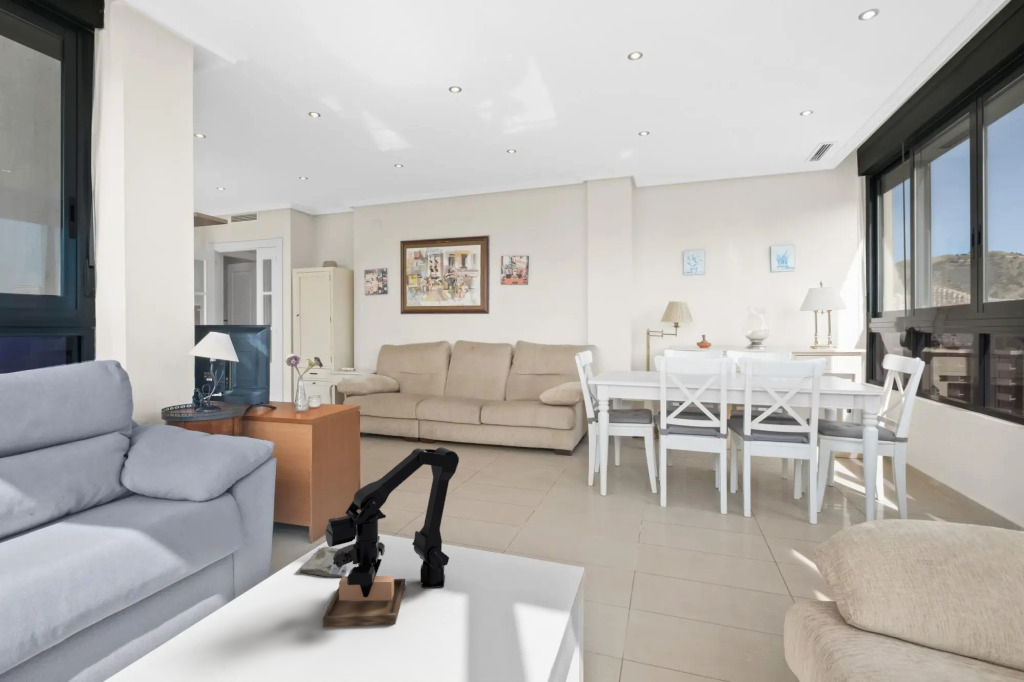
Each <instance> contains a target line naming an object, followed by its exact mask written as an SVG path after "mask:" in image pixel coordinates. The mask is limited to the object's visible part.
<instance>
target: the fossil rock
mask: <svg viewBox="0 0 1024 682" xmlns="http://www.w3.org/2000/svg"><path fill="white" fill-rule="evenodd" d="M339 549H340V548H339V547H329V546H323V547H321V548H318V549H317V551H316V552H315V553H314V554H313V555H312V556H311V557H310V558H309V559H308V560H307V561H305V562H304V563H303V564H302V565H301V566H300V568H299V573H300V572H301V573H300V574H306V573H308V574H307V575H315V576H316V575H317V576H321V577H328V578H330V577H331V578H341V577H343V576H347V573H348V569H347V564H345V565H342V567H339V568H338V567H337V566H336V565H334V564H333V562H334V559H333V558H334V557H333V556H334V555H335V553H336V551H337V550H339Z"/></svg>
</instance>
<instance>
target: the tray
mask: <svg viewBox="0 0 1024 682" xmlns="http://www.w3.org/2000/svg"><path fill="white" fill-rule="evenodd" d="M405 588H406V578H394V596H393V598H392V600H339V586H338V588H337V590H336V591H335V594H333V597H332V599H331V601H330V603H329V605H328V606H327V609H326V611H325V613H324V614H323V617H322V628H331V627H332V628H334V627H336V628H337V627H358V626H381V625H396V623H397V620H398V616H399V612H400V609H401V604H402V600H403V596H404V593H405V590H406V589H405Z"/></svg>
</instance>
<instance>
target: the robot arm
mask: <svg viewBox="0 0 1024 682" xmlns="http://www.w3.org/2000/svg"><path fill="white" fill-rule="evenodd" d="M459 462H460V458H459V455H458V454H457V453H456V452H455V451H453V450H451V449H448V448H446V447H443V446H442V447H438V448H436V449H431V448H423V449H422V448H414V449H412V451H411V453H410V454H409V455H408V456H405V458H404V459H402V460H401V461H400V462H398V464H396V465H395V466H394V467H393V468H392V469H390V471H388V472H387V473H386V474H384V475H383V476H382V477H381V478H379V479H378V480H376V481H372V482H370V483H367V484H366V485H365V486H362V487H360V489H358V490H357V491H356V492H355V493H354V495H353V500H352V502H351V503H350V505H349V506H348V508H347V510H346V511H345V513H344V514H345V515H344V516H341V517H333V518H332V517H331V518H329V519H328V524H327V525H326V529H324V530H325V531H324V532H325V540H326V543H327V547H330V548H334V547H336V546H339V545H340V546H341V545H343V544H348V543H351V542H353V541H354V540H355V542H354V543H352V544H348V545H345V546H343V547H341V548H338V549H339V550H337V551H336V553H335V555H334V556H333V557H334V558H333V559H334V562H333V564H334V565H336V566H337V567H338V568H339V567H342V565H345V564H346V565H347V564H350V563H352V565H357V566H354V567H352V569H350V571H349V573H348V574H347V575H346V576H347V584H348V585H360V587H361V590H362V593H363V596H364V597H368V595H369V593H370V590H371V587H372V584H373V582H374V579H375V576H377V574H378V572H379V569H380V566H381V563H382V558H379V557H380V556H381V557H384V554H385V551H386V549H385V544H384V543H383V542H381V541H380V539H381V538H380V537H381V536H379V520H382V519H385V518H386V517H387V515H386V514H384V512H382V511H381V508H382V506H383V505H384V504H386V502H387V501H388V498H389V496H390V494H391V493H393V491H395V489H397V488H398V487H399V486H400V485H401V484H403V483H404V482H405V481H406V480H408V478H409V477H410V476H412V475H413V474H415V472H416V471H418V470H419V469H420V468H421V467H423V465H425V466H426V465H427V466H430V468H431V473H432V482H431V488H430V493H429V497H428V504H427V508H426V513H425V518H424V522H423V527H422V528H421V529H420V531H418V530H415V532H414V540H413V541H412V543H411V545H412V546H413V550H414V553H416V555H418V557H419V558H420V559H421V560H422V564H421V565H420V570H419V571H420V575H419V576H420V577H419V580H420V581H419V582H420V583H421V588H422V589H424V588H427V589H428V588H443V587H445V581H446V580H445V579H446V574H445V566H448V563H449V560H450V557H449V556H448V555H447V554H446V553H445V552H443V551H442V550H443V549H442V548H443V538H442V535H441V524H442V520H443V514H444V508H445V506H446V505H445V504H446V498H447V494H448V493H447V492H448V487H449V483H450V480H451V479H452V477H453V476H454V474H455V473H456V472H457V468H458V465H459ZM358 510H359V512H358Z"/></svg>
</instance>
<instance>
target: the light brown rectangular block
mask: <svg viewBox="0 0 1024 682" xmlns="http://www.w3.org/2000/svg"><path fill="white" fill-rule="evenodd" d="M347 576H348V575H345V576H343V577H342V578H341V577H340V580H339V582H338V587H339V600H392V598H393V596H394V579H395V576H394V575H389V576H388V575H386V576H385V575H384V576H383V575H379V576H378V575H376V576H375V579H374V582H373V584H372V587H371V590H370V593H369V595H368V597H364V596H363V593H362V590H361V587H360V585H348V584H347Z"/></svg>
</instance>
